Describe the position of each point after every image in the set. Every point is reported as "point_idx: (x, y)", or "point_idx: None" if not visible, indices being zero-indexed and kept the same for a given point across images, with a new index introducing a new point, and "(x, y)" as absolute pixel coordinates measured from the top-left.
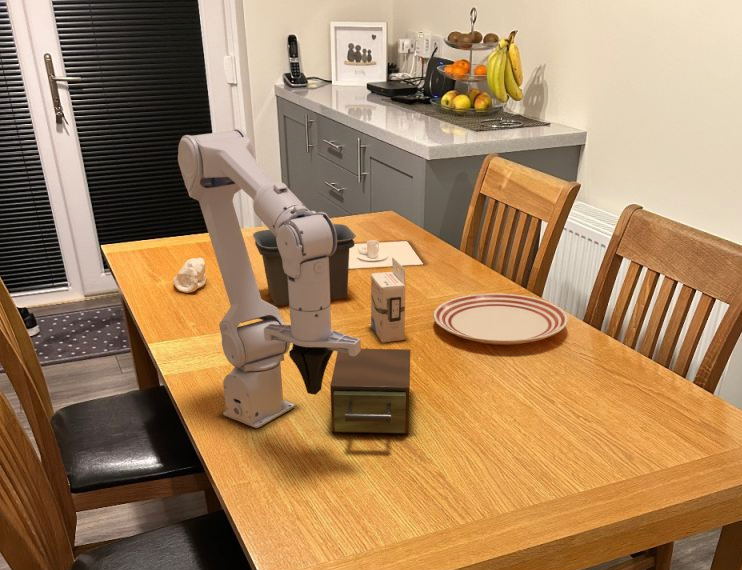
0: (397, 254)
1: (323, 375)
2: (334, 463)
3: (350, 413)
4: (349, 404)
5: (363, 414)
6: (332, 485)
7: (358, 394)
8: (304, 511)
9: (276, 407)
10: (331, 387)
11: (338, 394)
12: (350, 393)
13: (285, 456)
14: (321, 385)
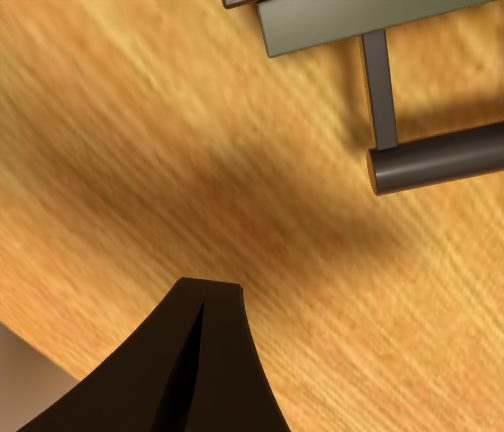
0: None
1: (253, 348)
2: (326, 216)
3: (405, 176)
4: (369, 41)
5: (480, 166)
6: (351, 319)
7: (447, 9)
8: (312, 417)
9: None
10: (233, 7)
11: (301, 48)
12: (384, 10)
13: (152, 217)
14: (243, 300)
